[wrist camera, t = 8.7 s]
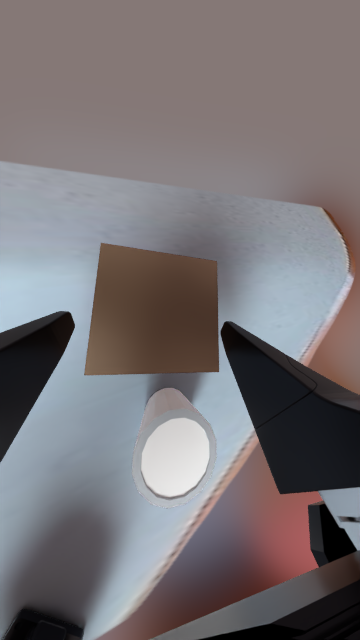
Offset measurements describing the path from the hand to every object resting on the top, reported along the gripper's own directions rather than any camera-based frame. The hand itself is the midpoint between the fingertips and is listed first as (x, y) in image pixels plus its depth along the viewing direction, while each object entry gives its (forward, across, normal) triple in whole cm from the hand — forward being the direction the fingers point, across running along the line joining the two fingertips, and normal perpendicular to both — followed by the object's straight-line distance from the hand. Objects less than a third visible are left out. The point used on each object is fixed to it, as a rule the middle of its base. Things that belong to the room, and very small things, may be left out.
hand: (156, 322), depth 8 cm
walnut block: (+7, 0, +7) cm, 10 cm away
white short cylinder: (0, -2, +15) cm, 15 cm away
